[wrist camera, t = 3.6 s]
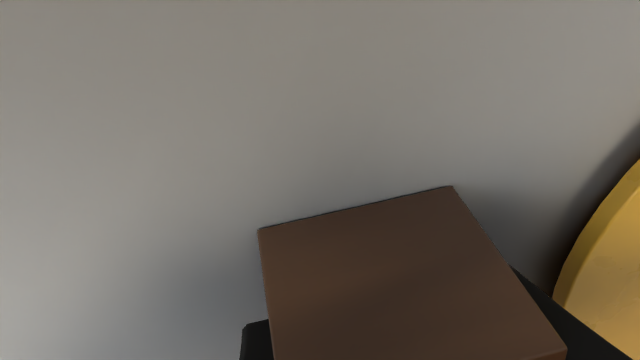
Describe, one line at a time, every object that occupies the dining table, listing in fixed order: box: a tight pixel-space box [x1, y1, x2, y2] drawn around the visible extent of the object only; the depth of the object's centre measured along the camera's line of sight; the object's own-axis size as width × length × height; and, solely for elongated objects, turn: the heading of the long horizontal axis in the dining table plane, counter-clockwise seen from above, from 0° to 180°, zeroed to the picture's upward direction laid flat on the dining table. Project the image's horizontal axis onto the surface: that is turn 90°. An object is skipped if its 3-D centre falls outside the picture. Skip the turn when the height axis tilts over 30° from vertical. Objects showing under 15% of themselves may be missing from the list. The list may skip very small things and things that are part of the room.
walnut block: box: [257, 186, 568, 360], centre depth 10 cm, size 4×4×4 cm
